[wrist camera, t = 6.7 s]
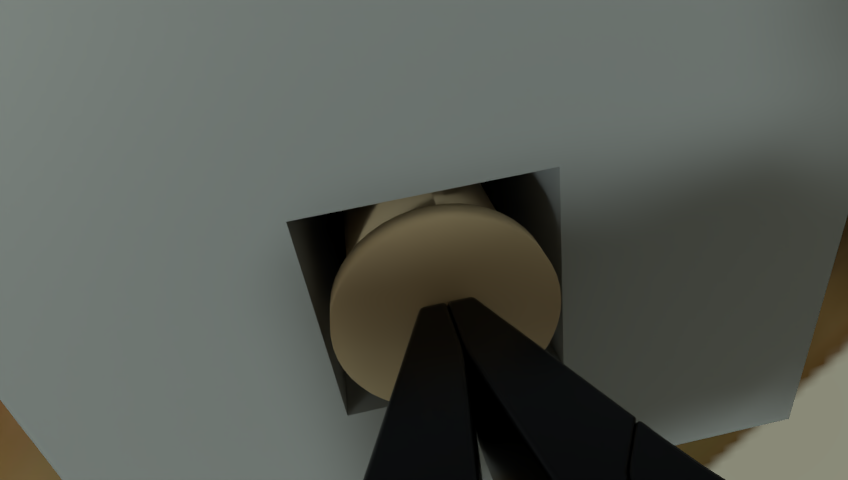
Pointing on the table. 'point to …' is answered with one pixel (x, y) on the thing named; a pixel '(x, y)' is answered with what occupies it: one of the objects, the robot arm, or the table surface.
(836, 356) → the table surface
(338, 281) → the peg
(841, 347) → the table surface
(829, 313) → the table surface
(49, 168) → the board
